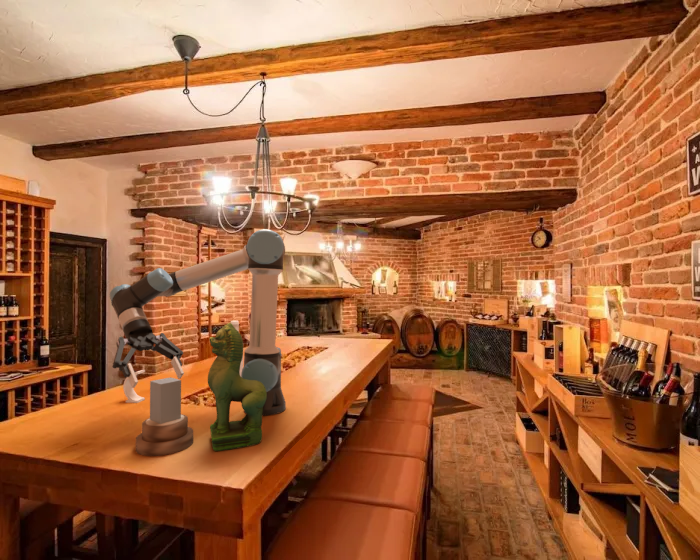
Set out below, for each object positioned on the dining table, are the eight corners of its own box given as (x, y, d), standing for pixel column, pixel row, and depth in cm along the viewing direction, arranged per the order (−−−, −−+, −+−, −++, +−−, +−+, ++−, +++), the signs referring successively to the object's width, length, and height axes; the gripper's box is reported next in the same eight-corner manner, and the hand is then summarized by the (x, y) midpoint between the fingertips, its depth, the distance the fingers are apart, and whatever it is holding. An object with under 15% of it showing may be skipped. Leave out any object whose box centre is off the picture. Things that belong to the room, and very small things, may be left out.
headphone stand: (137, 403, 155) (137, 372, 155) (123, 402, 155) (123, 371, 156) (144, 399, 159) (145, 369, 160) (130, 399, 160) (131, 369, 160)
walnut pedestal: (200, 434, 122) (200, 410, 122) (181, 455, 107) (181, 427, 107) (150, 435, 121) (150, 411, 121) (124, 456, 106) (125, 428, 106)
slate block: (170, 414, 118) (170, 377, 118) (180, 418, 114) (181, 380, 115) (149, 419, 113) (150, 381, 114) (160, 424, 110) (160, 384, 110)
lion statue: (206, 437, 120) (206, 321, 120) (261, 429, 126) (261, 319, 127) (208, 454, 107) (209, 325, 108) (269, 445, 114) (270, 323, 114)
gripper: (169, 330, 136) (193, 379, 127) (87, 337, 116) (108, 397, 107) (177, 315, 133) (202, 365, 124) (95, 320, 113) (117, 380, 104)
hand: (159, 380), depth 115 cm, fingers open, 13 cm apart
